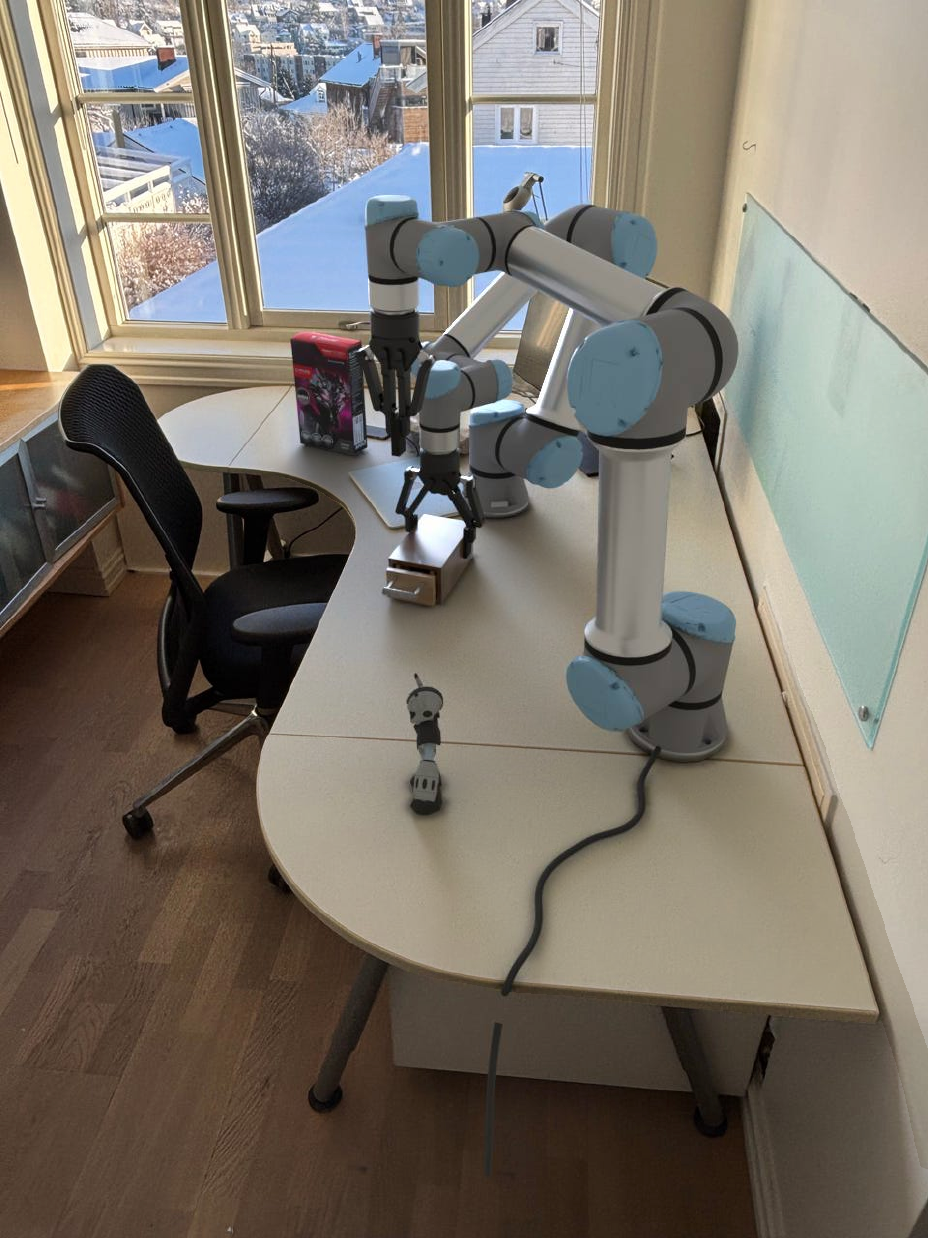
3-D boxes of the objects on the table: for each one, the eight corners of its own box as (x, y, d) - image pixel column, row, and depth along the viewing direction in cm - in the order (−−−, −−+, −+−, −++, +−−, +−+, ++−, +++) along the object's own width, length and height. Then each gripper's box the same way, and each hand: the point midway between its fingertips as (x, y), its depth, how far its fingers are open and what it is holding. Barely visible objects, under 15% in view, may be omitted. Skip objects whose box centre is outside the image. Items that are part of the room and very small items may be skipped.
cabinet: (441, 604, 173) (441, 567, 168) (389, 593, 175) (388, 558, 171) (472, 556, 187) (473, 522, 183) (424, 548, 190) (424, 514, 186)
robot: (446, 845, 123) (445, 731, 112) (409, 846, 123) (405, 732, 112) (441, 747, 139) (440, 638, 128) (409, 747, 139) (405, 639, 128)
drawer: (423, 621, 166) (422, 593, 163) (375, 611, 169) (374, 584, 165) (464, 561, 184) (464, 534, 181) (420, 553, 186) (420, 527, 183)
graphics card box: (297, 444, 233) (287, 336, 218) (313, 435, 239) (304, 329, 223) (354, 457, 227) (347, 347, 212) (369, 447, 232) (364, 339, 217)
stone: (382, 437, 229) (387, 414, 227) (402, 429, 243) (406, 406, 240) (461, 462, 226) (467, 438, 223) (477, 452, 239) (482, 429, 237)
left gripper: (504, 447, 171) (501, 551, 183) (390, 431, 177) (394, 532, 189) (492, 463, 165) (489, 570, 177) (374, 446, 171) (379, 549, 183)
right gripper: (443, 305, 140) (443, 449, 154) (364, 297, 144) (371, 439, 157) (425, 319, 135) (427, 467, 148) (344, 309, 138) (353, 456, 151)
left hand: (440, 550), depth 183 cm, fingers closed on cabinet, 10 cm apart
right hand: (398, 452), depth 152 cm, fingers closed
